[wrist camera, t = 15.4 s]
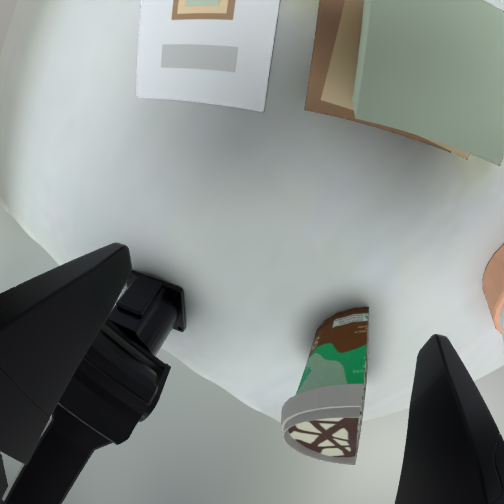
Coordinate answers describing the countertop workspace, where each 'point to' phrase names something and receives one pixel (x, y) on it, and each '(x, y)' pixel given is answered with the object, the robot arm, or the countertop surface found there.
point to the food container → (331, 391)
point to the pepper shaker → (495, 289)
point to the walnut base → (321, 58)
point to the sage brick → (434, 72)
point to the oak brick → (351, 63)
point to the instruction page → (206, 51)
